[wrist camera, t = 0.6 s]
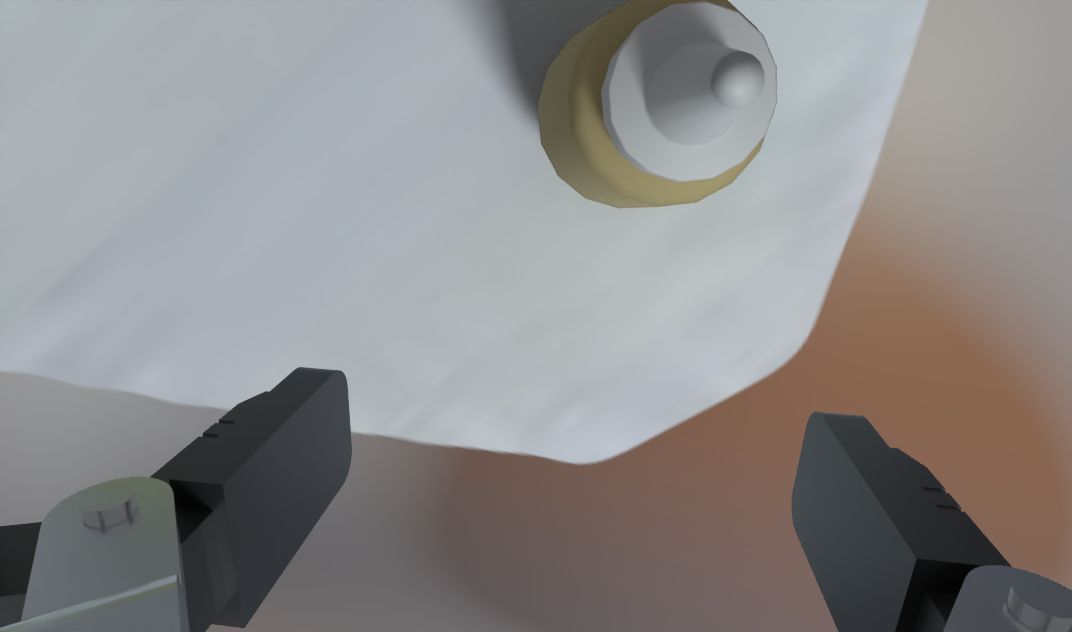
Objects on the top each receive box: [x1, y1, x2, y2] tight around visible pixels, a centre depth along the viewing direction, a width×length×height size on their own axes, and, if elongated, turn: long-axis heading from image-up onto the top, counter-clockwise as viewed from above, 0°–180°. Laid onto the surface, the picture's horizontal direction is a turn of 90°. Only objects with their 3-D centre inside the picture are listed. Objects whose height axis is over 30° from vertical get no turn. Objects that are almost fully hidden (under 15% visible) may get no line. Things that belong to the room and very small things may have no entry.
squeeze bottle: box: [537, 0, 777, 208], centre depth 22 cm, size 8×8×18 cm
